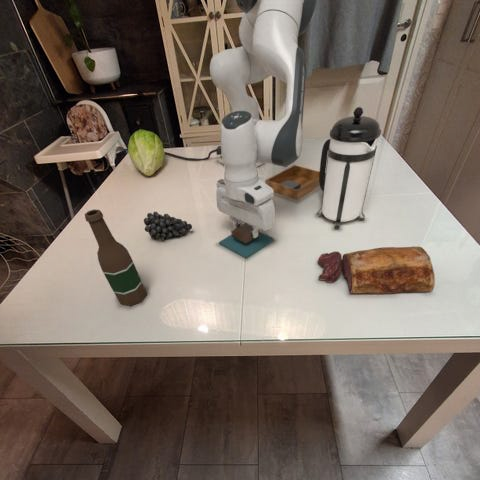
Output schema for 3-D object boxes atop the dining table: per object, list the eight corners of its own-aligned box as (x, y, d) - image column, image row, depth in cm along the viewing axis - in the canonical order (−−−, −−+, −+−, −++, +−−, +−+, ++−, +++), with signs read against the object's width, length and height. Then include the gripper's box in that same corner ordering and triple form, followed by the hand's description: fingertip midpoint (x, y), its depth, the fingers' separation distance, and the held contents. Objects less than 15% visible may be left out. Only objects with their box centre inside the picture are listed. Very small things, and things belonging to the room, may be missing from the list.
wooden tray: (265, 191, 114) (265, 180, 111) (293, 175, 121) (294, 164, 118) (297, 202, 106) (297, 190, 103) (325, 184, 113) (326, 173, 110)
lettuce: (171, 184, 137) (139, 193, 138) (166, 148, 146) (136, 157, 148) (158, 157, 124) (122, 168, 125) (154, 119, 133) (121, 129, 134)
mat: (219, 244, 92) (218, 242, 92) (246, 227, 97) (246, 225, 97) (246, 258, 86) (246, 256, 85) (273, 240, 91) (273, 238, 91)
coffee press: (368, 208, 99) (395, 98, 77) (359, 233, 90) (387, 116, 68) (316, 201, 105) (327, 98, 83) (303, 224, 96) (312, 115, 73)
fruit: (189, 204, 92) (141, 207, 93) (188, 225, 89) (138, 228, 89) (194, 223, 100) (150, 226, 101) (193, 243, 97) (148, 246, 97)
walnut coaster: (231, 237, 90) (231, 231, 89) (245, 228, 93) (245, 222, 91) (245, 243, 87) (245, 238, 86) (259, 234, 90) (259, 229, 88)
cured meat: (311, 256, 84) (314, 235, 79) (402, 249, 83) (410, 227, 77) (324, 301, 72) (328, 279, 67) (431, 294, 70) (443, 271, 65)
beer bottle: (121, 289, 82) (78, 205, 64) (149, 285, 82) (114, 201, 64) (115, 308, 77) (67, 224, 59) (145, 305, 76) (106, 219, 59)
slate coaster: (277, 190, 112) (277, 185, 111) (288, 185, 115) (288, 179, 113) (290, 195, 109) (290, 189, 107) (300, 189, 111) (300, 183, 110)
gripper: (208, 181, 83) (215, 226, 93) (261, 201, 72) (263, 249, 83) (224, 173, 86) (229, 217, 96) (278, 191, 75) (278, 239, 85)
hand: (245, 232), depth 89 cm, fingers closed on walnut coaster, 6 cm apart
